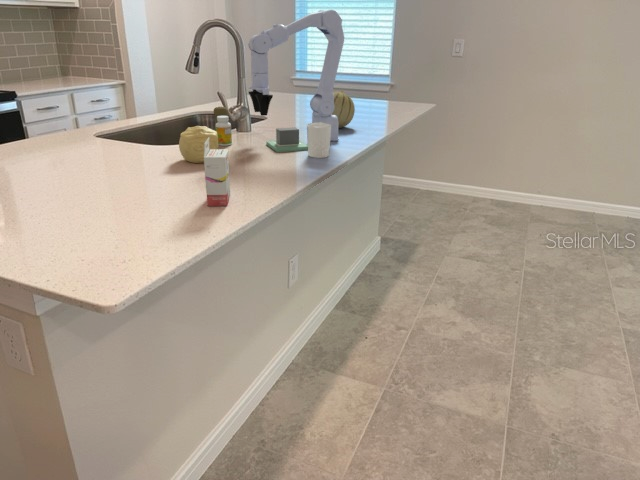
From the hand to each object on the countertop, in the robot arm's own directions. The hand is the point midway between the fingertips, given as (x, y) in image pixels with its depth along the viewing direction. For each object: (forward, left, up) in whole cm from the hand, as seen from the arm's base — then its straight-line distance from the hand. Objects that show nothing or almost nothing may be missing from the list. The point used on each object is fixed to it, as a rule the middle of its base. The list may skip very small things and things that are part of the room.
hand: (260, 113), depth 174 cm
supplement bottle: (+13, -2, -11) cm, 17 cm away
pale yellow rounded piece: (+25, +18, -11) cm, 32 cm away
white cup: (-13, +23, -11) cm, 29 cm away
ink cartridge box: (+27, +58, -11) cm, 65 cm away
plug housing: (-7, +9, -9) cm, 14 cm away
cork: (+11, -15, -11) cm, 22 cm away
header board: (-7, +9, -11) cm, 15 cm away
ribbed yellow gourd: (-38, -19, -11) cm, 44 cm away
